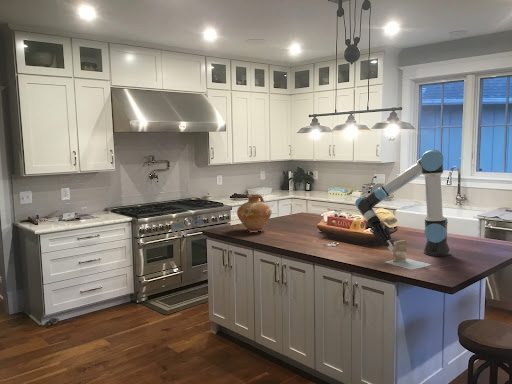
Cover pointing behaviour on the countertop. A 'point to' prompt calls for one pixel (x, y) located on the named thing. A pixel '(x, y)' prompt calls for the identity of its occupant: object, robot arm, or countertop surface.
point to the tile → (399, 251)
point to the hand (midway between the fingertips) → (392, 250)
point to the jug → (254, 213)
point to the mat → (409, 264)
